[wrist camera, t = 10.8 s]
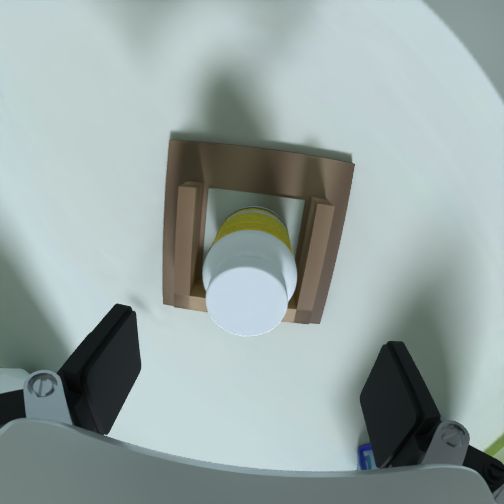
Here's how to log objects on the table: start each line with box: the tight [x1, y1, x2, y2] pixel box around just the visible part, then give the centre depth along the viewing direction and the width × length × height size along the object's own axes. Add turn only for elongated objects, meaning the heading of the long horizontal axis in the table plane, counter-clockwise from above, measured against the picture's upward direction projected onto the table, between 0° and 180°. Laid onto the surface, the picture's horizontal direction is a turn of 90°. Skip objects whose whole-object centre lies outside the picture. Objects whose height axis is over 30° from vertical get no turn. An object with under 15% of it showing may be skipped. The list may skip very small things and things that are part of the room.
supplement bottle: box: [203, 206, 297, 337], centre depth 19 cm, size 5×5×10 cm
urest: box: [163, 140, 355, 324], centre depth 23 cm, size 14×14×4 cm
